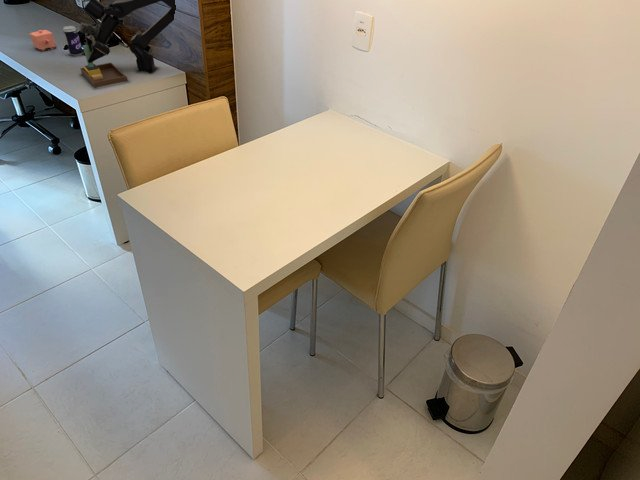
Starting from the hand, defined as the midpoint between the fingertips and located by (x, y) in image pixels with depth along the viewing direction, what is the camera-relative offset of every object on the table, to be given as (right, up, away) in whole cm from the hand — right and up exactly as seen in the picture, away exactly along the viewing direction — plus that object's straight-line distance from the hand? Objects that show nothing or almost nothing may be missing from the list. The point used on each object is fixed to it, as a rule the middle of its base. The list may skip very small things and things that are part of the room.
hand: (86, 58), depth 203 cm
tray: (+6, -7, +3) cm, 10 cm away
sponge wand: (+1, -5, +5) cm, 7 cm away
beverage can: (-16, +11, +25) cm, 32 cm away
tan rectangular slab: (+4, -8, +1) cm, 9 cm away
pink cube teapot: (-34, +16, +30) cm, 48 cm away
